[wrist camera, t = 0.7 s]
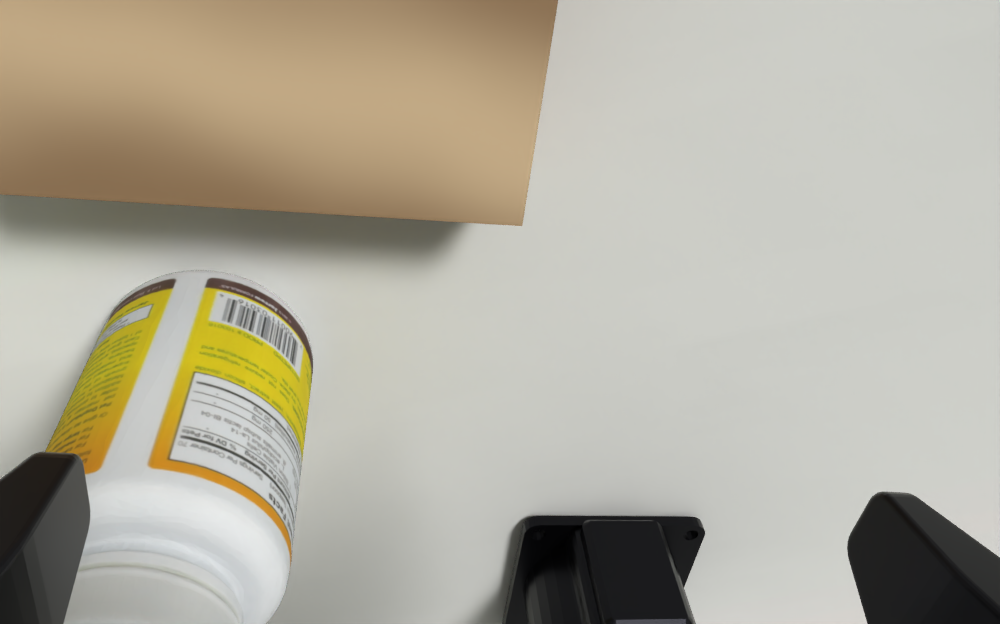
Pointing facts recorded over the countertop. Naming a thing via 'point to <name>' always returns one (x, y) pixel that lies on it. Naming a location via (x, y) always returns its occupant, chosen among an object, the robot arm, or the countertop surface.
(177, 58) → the brown box
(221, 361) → the supplement bottle
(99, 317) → the countertop surface
